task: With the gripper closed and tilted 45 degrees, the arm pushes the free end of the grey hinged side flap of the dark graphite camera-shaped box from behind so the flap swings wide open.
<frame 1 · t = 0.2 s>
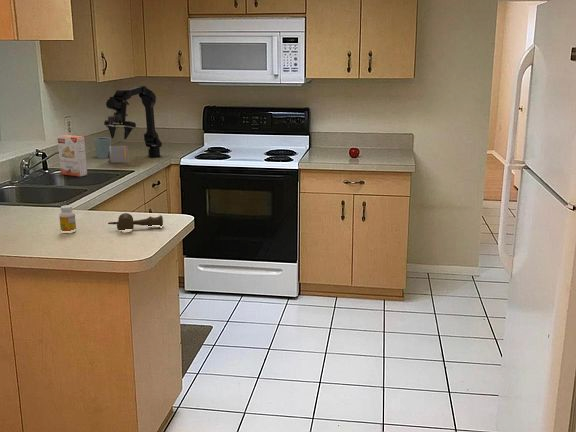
hand: (118, 138, 362), 15 cm above the worktop, tool pointing down, fingers open, 9 cm apart
kendama: (136, 230, 236), on the worktop
camera box: (111, 162, 374), on the worktop
drinking glass: (103, 157, 393), on the worktop
supplement bottle: (68, 232, 231), on the worktop
cracker box: (74, 175, 337), on the worktop
side door: (118, 154, 372), point 5 cm above the worktop, hinge at 0.0°
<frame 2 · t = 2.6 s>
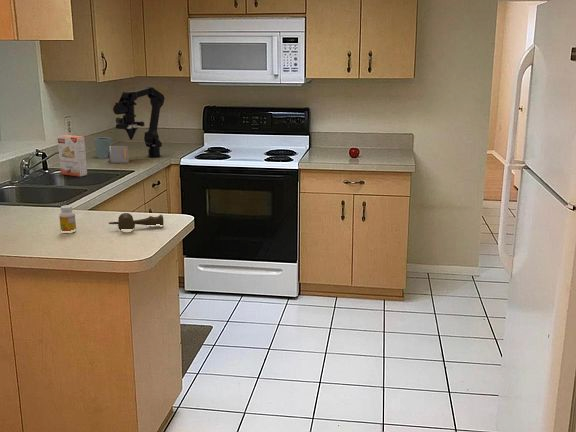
hand: (131, 139, 376), 13 cm above the worktop, tool pointing down, fingers closed
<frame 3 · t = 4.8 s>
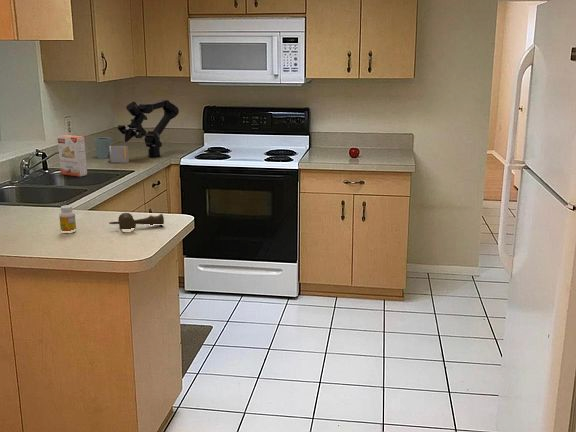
hand: (125, 141, 373), 12 cm above the worktop, tool tilted 45°, fingers closed
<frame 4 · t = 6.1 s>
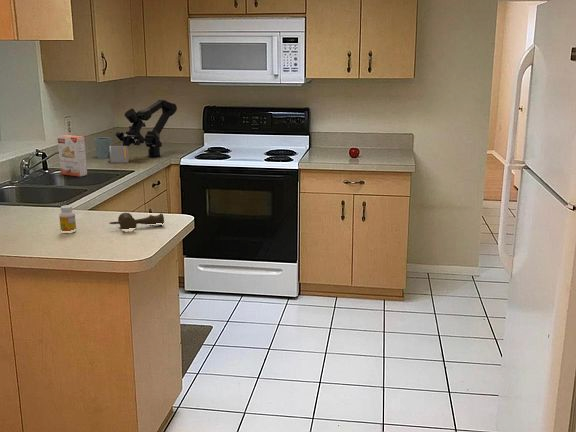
hand: (123, 148, 372), 8 cm above the worktop, tool tilted 45°, fingers closed
side door: (118, 154, 372), point 5 cm above the worktop, hinge at 0.3°, touching gripper
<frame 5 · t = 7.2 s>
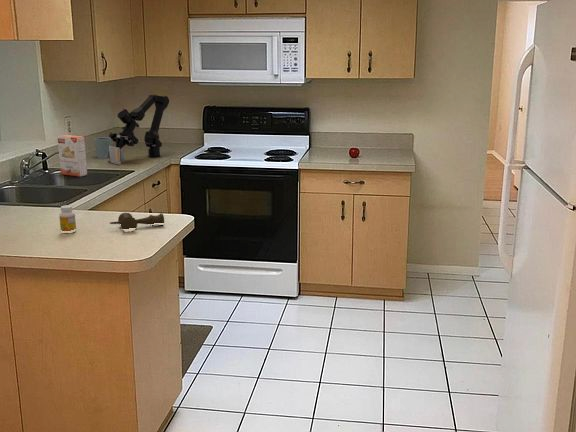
hand: (117, 150, 367), 8 cm above the worktop, tool tilted 45°, fingers closed
side door: (114, 155, 369), point 5 cm above the worktop, hinge at 46.4°, touching gripper
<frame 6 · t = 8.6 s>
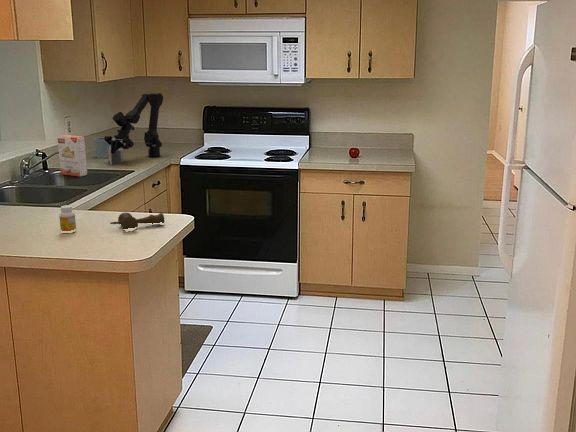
hand: (112, 153, 364), 7 cm above the worktop, tool tilted 45°, fingers closed
side door: (110, 155, 368), point 5 cm above the worktop, hinge at 76.5°, touching gripper
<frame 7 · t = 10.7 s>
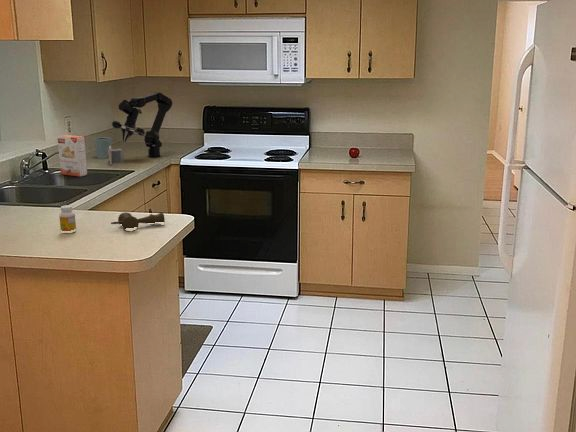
hand: (124, 141, 372), 12 cm above the worktop, tool tilted 30°, fingers closed
side door: (110, 155, 368), point 5 cm above the worktop, hinge at 76.5°
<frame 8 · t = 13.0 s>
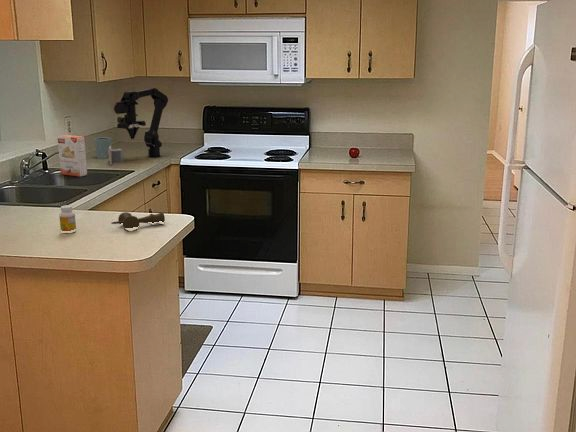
hand: (132, 138, 379), 13 cm above the worktop, tool pointing down, fingers closed
at the end: side door at +76° (first picture: +0°) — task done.
